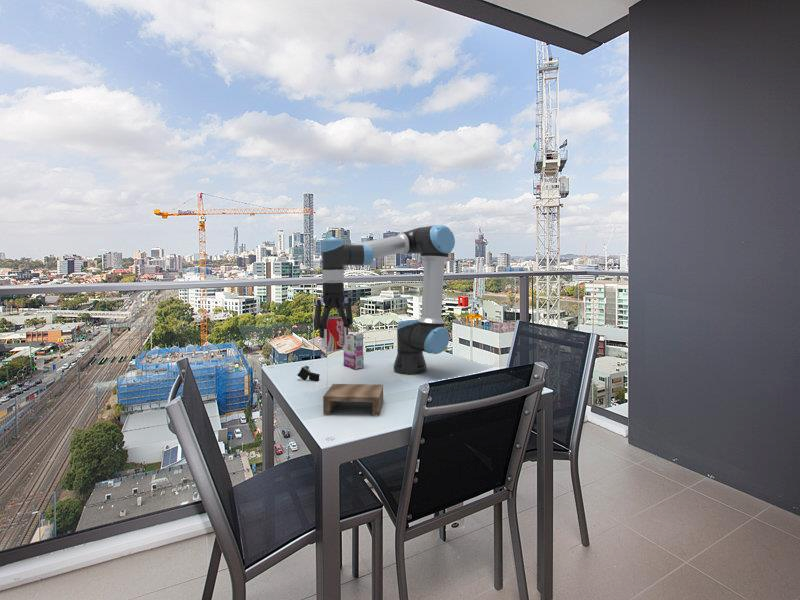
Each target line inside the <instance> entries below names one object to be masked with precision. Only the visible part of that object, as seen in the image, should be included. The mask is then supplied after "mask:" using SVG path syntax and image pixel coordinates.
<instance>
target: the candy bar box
mask: <svg viewBox="0 0 800 600" xmlns="http://www.w3.org/2000/svg"><path fill="white" fill-rule="evenodd" d="M344 364H345V365H347V366H348V367H347V368H349V367H350V368H349V369H352V370H355V371H357V370H362V369H364V367H365V366H364V333H360V332H355V331H348V335H346V345H344V348H343V365H344Z"/></svg>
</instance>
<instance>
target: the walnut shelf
mask: <svg viewBox="0 0 800 600" xmlns="http://www.w3.org/2000/svg"><path fill="white" fill-rule="evenodd" d="M338 402H355V403H356V402H359V403H361V402H362V403H363V402H365V403H368V402H370V403H372V416H374V415H375V416H376V415H377V416H380V414H381V409H382V406H383V403H384V384H379V383H378V384H374V383H367V384H366V383H365V384H363V383H362V384H360V383H357V384H356V383H332V384H331V386H330V387H329V388H328V390H327V391H326V392H325V393H324V394H323V396H322V405H323V407H322V408H323V411H322V412H323V415H324V416H325V415H326V416H328V415H329V416H330V415H331V414H332V411H333V410H334V409H335V407H336V405H337V404H338ZM377 416H376V417H377Z"/></svg>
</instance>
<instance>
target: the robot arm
mask: <svg viewBox="0 0 800 600" xmlns="http://www.w3.org/2000/svg"><path fill="white" fill-rule="evenodd" d="M321 243H322V244H321V261H322V262H321V265H322V266H321V267H322V270H321V271H322V273H321V275H322V281H323V282H322V296H321V298H317V299H316V298H315V299H314V305H315V307H314V308H315V309H314V320H313V327H314V328H317V329H318V330H319V331H318V334H319V335H318V337H319V339H321V347H322V348H324V349H325V348H326V347H327V329H324V328H325V325H326V322H327V319H328V316H330V312H331V310H332V309H336V310H337V313H338V316H341V317H342V320H343V323H344V345H346V335H348V332H349V327H350V326H353V324H354V319H353V311H352V298H351V297H346V296H345V284H344V281H345V275H344V274H345V273H344V272H345V271H344V266H369V265H371V264H372V263H373V261H374V259H378V258H383V257H387V256H388V257H389V256H392V255H397V254H401V255H408V254H411V255H412V254H417V255H418V254H420V258H421V260H423V278H422V296H421V297H422V298H421V299H422V300H421V316H420V318H419V319H412V320H402V321H398V322H397V324H396V325H397V327H396V341H397V342H396V343H397V344H396V345H397V354H396V357H395V360H394V363H393V372H395V373H398V374H401V375H402V374H404V375H418V374H424V373H426V372H427V369H428V368H427V367H428V365H427V363H426V360H425V356H424V353H427V354H429V355H430V354H432V355H437V354H441V353H443V352H444V351H445V350H446V349H447V347H448V345H449V342H450V337H451V336H450V333H449V330H448V329H447V328H446V327H445V324H446V323H445V321H444V320H443V318H442V311H443V297H444V296H443V292H444V277H445V276H444V273H445V262H446V261H447V260H448V259H449V253H450V252H452V251H453V249H454V248H455V246H456V245H455V244H456V240H455V235H454V233H453V231H452V230H451V228H449V226H447V225H444V224H443V225H442V224H438V225H437V224H436V225H429V226H421V227H420V226H419V227H417V228H413V229H411V230H407V231H403V232H398V233H397V234H396V235H394V236H388V237H384V238H383V237H382V238H378V239H372V240H368V241H361V242H357V243H356V242H355V243H350V244H345V243H344V239H343V238H341V237H340V238H339V237H337V238H336V237H329V238H328V237H326V238H324V239H323V240H322V241H321ZM323 303H324V307H323ZM343 303H344V305H343ZM322 308H323V311H322ZM344 308H345V310H344Z"/></svg>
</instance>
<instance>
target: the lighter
mask: <svg viewBox="0 0 800 600" xmlns="http://www.w3.org/2000/svg"><path fill="white" fill-rule="evenodd" d="M296 376H297V377H299V378H300V379H301V380H303V381H307V380H310V381H311V382H318V381H319V380H320V376H321V375H320V374H319V373H315V372H312V371H311V370H310V366H309V365H304V366H302V367H301V368H300V369H299V372H298V373H297V374H296Z"/></svg>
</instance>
